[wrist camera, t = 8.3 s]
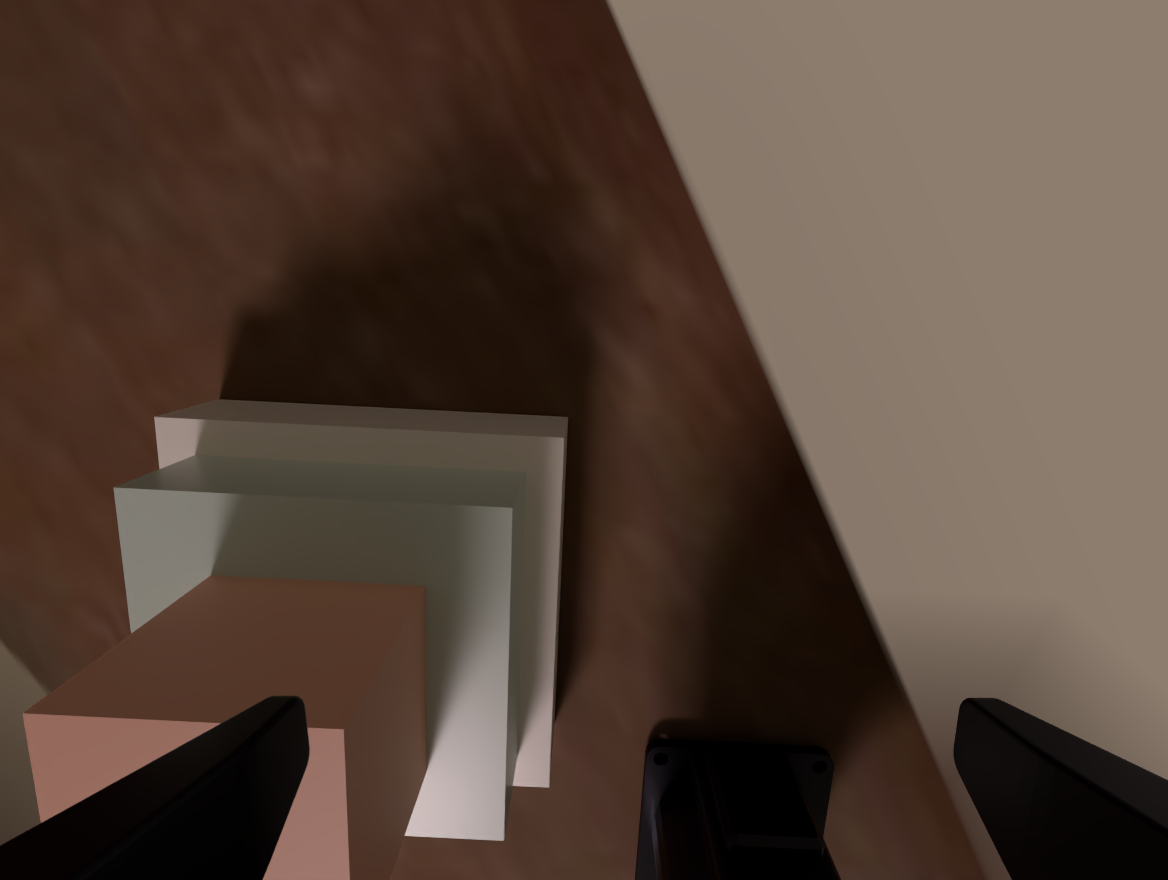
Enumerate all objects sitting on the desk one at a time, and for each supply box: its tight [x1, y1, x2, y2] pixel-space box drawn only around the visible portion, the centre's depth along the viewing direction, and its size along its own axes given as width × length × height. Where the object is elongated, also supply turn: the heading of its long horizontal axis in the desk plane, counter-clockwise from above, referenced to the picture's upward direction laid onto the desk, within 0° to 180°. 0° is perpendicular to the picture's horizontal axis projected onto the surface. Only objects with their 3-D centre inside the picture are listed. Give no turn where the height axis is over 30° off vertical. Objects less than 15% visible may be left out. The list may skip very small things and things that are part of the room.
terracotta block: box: [23, 575, 427, 880], centre depth 13 cm, size 5×5×5 cm
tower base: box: [114, 399, 568, 841], centre depth 18 cm, size 11×11×6 cm
